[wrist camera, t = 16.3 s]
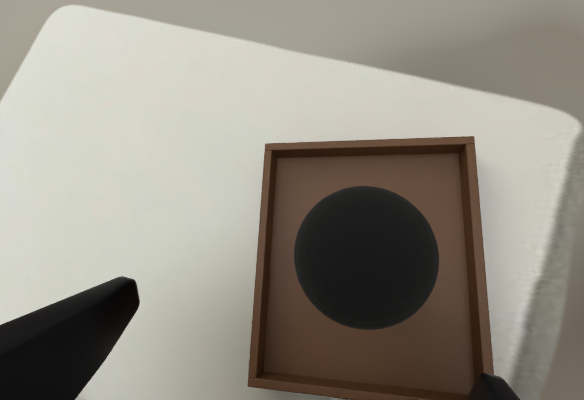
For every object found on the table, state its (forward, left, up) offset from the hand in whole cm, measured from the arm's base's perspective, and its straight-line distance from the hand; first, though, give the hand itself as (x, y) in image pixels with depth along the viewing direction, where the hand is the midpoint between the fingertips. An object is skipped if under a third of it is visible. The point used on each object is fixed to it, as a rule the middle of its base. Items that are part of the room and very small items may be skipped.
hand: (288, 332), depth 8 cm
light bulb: (+2, -2, -13) cm, 13 cm away
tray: (+3, -2, -13) cm, 13 cm away
